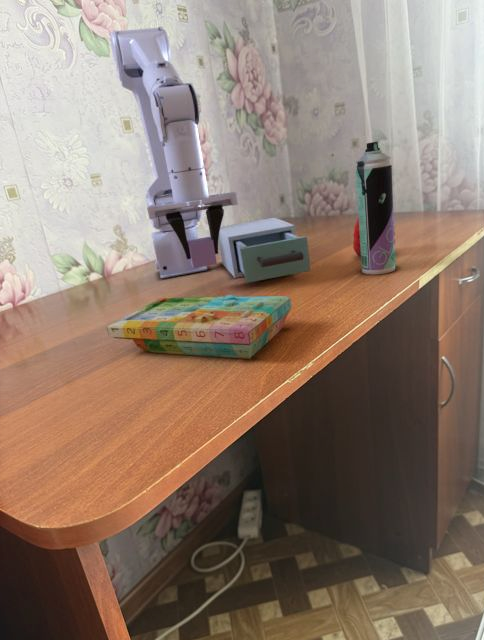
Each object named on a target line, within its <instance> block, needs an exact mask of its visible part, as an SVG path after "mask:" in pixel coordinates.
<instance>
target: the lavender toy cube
mask: <svg viewBox="0 0 484 640" xmlns="http://www.w3.org/2000/svg"><path fill="white" fill-rule="evenodd" d="M187 242H188V246H189V249H190V255H191V259H190V261H191V265H192V266H193V268H197V267H203V266H206V267H207V266H213V265H217V264H218V261H217V254H215V249H214V244H213V240H212V239H211V237H210V236H205V237H198V239H193V240H188V241H187Z"/></svg>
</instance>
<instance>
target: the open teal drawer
mask: <svg viewBox="0 0 484 640" xmlns="http://www.w3.org/2000/svg"><path fill="white" fill-rule="evenodd" d="M233 244H234V250H235V257H236V263H237V267H238V268H239V269H240V270H241V271H242V272H243V273H244V276H243V277H244V282H245V283H246V284H249V283H254V282H259V281H264V280H268V279H269V280H270V279H274V278H280V277H284V276H290V275H295V274H300V273H304V272H305V273H306V272H310V271H311V263H310V253H309V243H308V236H304V235H303V236H298V235H296V236H295V235H293V234H291V233H288V232H286V231H284V232H278V233H273V234H267V235H262V236H256V237H250V238H245V239H239V240H234V241H233Z"/></svg>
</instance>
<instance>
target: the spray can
mask: <svg viewBox="0 0 484 640" xmlns="http://www.w3.org/2000/svg"><path fill="white" fill-rule="evenodd" d="M391 159H392V157H391V156H389V155H387V154H386V153H384V152H383V149H381V147H379V141H372V142H367V143H366V149H364V151H363V155H362V156H360V157H359V159H358V160H356V161H355V164H356V165H355V181H356V196H357V211H358V213H357V214H358V217H359V231H360V247H361V257H360V261H361V273H362V274H365V275H384V274H389V273H391V272H394V271H395V270H396V247H395V245H396V242H395V243H394V239H395V236H394V231H395V220H394V219H395V217H394V190H393V162H392V161H391Z"/></svg>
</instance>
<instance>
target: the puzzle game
mask: <svg viewBox="0 0 484 640" xmlns="http://www.w3.org/2000/svg"><path fill="white" fill-rule="evenodd" d="M292 308H293V307H292V299H291V298H290V297H288V296H285V295H274V296H273V295H272V296H270V295H267V296H265V295H264V296H262V295H261V296H260V295H259V296H258V295H257V296H235V295H234V294H228V295H224V296H188V297H187V296H176V297H175V296H173V297H171V296H169V297H166V296H163V297H160V298H159V299H156V300H155V301H152V302H151V303H149V304H147V305H145V306H143V307H141V308H139V309H138V310H135V311H134V312H132V313H130V314H128V315H126V316H124V317H122V318H120V319H119V320H117V321H115V322H113V323H111V324H109V325H107V326H106V330H107V334H108V336H110V337H111V338H113V339H120V340H131V341H133V343H134V345H136V347H138V348H139V349H141V350H143V351H145V352H146V353H156V354H169V355H186V356H200V357H201V356H202V357H214V358H215V357H216V358H217V357H218V358H232V359H247V360H250V359H251V358H252V357H253V356H254V355H256V353H258V352H259V351H260V350H261V349H262V348H263V347H264V346H265V345H266V344H267V343H269V342H270V341H271V340H272V339H273V338H274V337H275V336H276V335H277V334H278V333H279V332H281V330H282V328H283V326H284V324H285V321H286V318H287V316H288V315H289V313H290V312H291V310H292Z"/></svg>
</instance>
